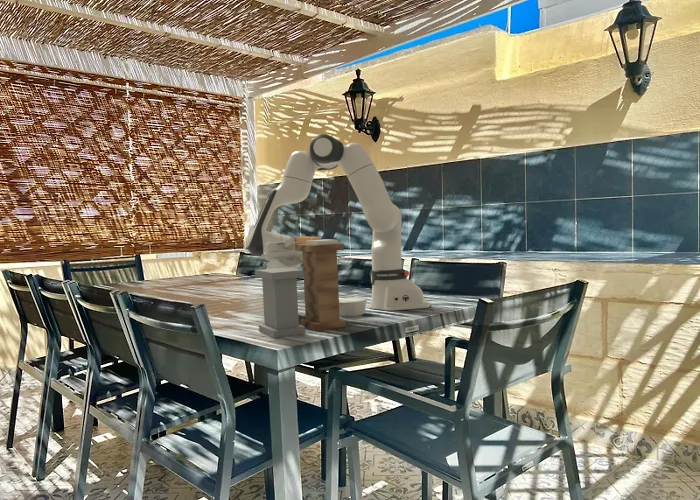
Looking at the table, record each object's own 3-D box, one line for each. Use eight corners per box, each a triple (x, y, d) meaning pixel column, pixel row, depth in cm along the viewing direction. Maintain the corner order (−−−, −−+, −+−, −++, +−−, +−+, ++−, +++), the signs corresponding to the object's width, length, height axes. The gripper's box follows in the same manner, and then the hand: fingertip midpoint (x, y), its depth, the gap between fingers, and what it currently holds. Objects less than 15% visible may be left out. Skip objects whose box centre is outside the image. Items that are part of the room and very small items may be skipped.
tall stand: (299, 324, 175) (295, 244, 174) (326, 320, 180) (323, 242, 179) (318, 331, 163) (314, 245, 162) (347, 327, 168) (343, 243, 167)
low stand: (258, 331, 168) (254, 270, 167) (287, 326, 173) (284, 267, 172) (275, 338, 156) (271, 272, 155) (306, 333, 161) (303, 270, 160)
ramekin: (331, 317, 187) (330, 302, 187) (340, 311, 198) (339, 297, 198) (362, 317, 184) (361, 302, 184) (370, 311, 195) (369, 297, 195)
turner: (287, 243, 183) (287, 237, 183) (306, 241, 187) (305, 236, 186) (317, 245, 163) (317, 238, 163) (338, 243, 167) (337, 237, 167)
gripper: (257, 251, 189) (268, 231, 178) (310, 247, 199) (324, 228, 189) (261, 267, 187) (273, 248, 176) (314, 263, 197) (329, 244, 186)
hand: (300, 238), depth 182 cm, fingers closed on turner, 3 cm apart
